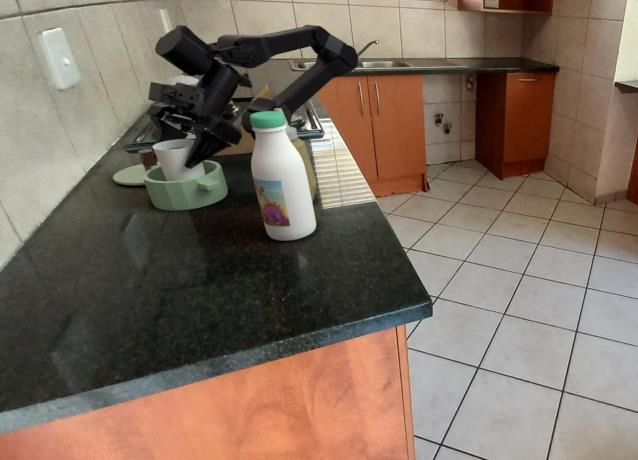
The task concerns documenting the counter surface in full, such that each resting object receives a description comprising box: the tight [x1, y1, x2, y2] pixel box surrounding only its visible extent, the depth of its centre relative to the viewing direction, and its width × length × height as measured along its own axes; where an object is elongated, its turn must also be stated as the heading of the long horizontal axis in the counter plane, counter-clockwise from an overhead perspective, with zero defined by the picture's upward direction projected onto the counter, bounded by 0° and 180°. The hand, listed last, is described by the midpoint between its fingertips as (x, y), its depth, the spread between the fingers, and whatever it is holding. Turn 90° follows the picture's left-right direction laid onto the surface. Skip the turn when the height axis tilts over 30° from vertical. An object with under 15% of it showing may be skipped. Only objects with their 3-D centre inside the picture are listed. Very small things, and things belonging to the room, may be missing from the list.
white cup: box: [152, 138, 205, 181], centre depth 80 cm, size 7×7×10 cm
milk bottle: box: [250, 111, 317, 242], centre depth 68 cm, size 8×8×20 cm
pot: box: [142, 159, 229, 212], centre depth 81 cm, size 12×17×6 cm
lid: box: [112, 148, 160, 186], centre depth 89 cm, size 13×13×6 cm
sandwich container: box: [212, 83, 271, 157], centre depth 106 cm, size 9×15×15 cm, turn 118°
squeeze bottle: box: [274, 108, 317, 202], centre depth 79 cm, size 8×8×18 cm
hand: (171, 163), depth 78 cm, fingers open, 9 cm apart
